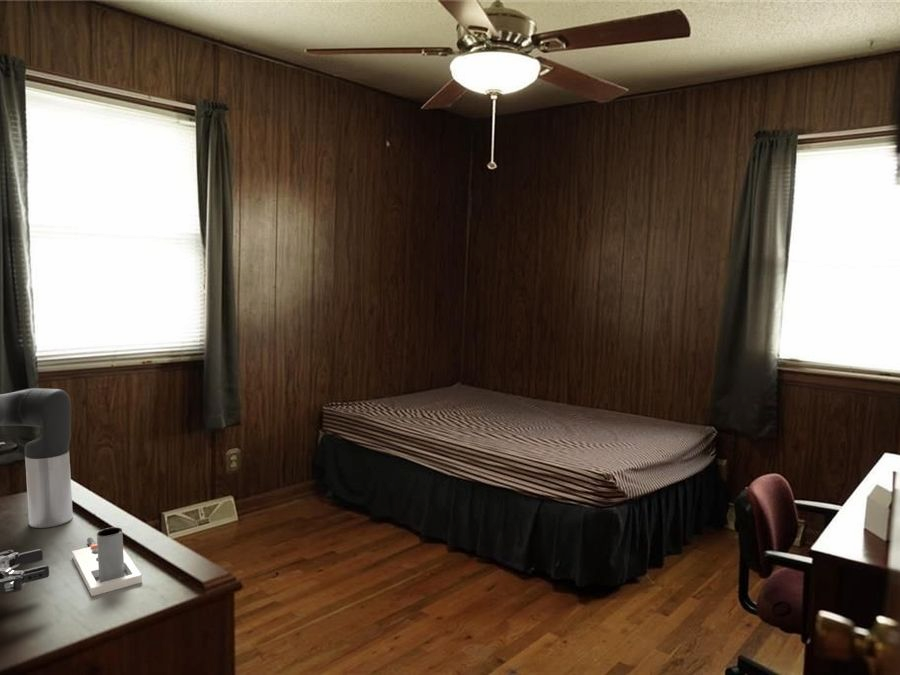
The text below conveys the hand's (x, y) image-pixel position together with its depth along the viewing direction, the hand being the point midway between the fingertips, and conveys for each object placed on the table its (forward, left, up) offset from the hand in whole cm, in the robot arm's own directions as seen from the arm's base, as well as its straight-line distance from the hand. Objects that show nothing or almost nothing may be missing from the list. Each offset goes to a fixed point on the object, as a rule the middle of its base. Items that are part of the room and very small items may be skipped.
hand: (45, 562), depth 123 cm
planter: (0, +11, -7) cm, 13 cm away
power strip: (-9, +11, -7) cm, 16 cm away
